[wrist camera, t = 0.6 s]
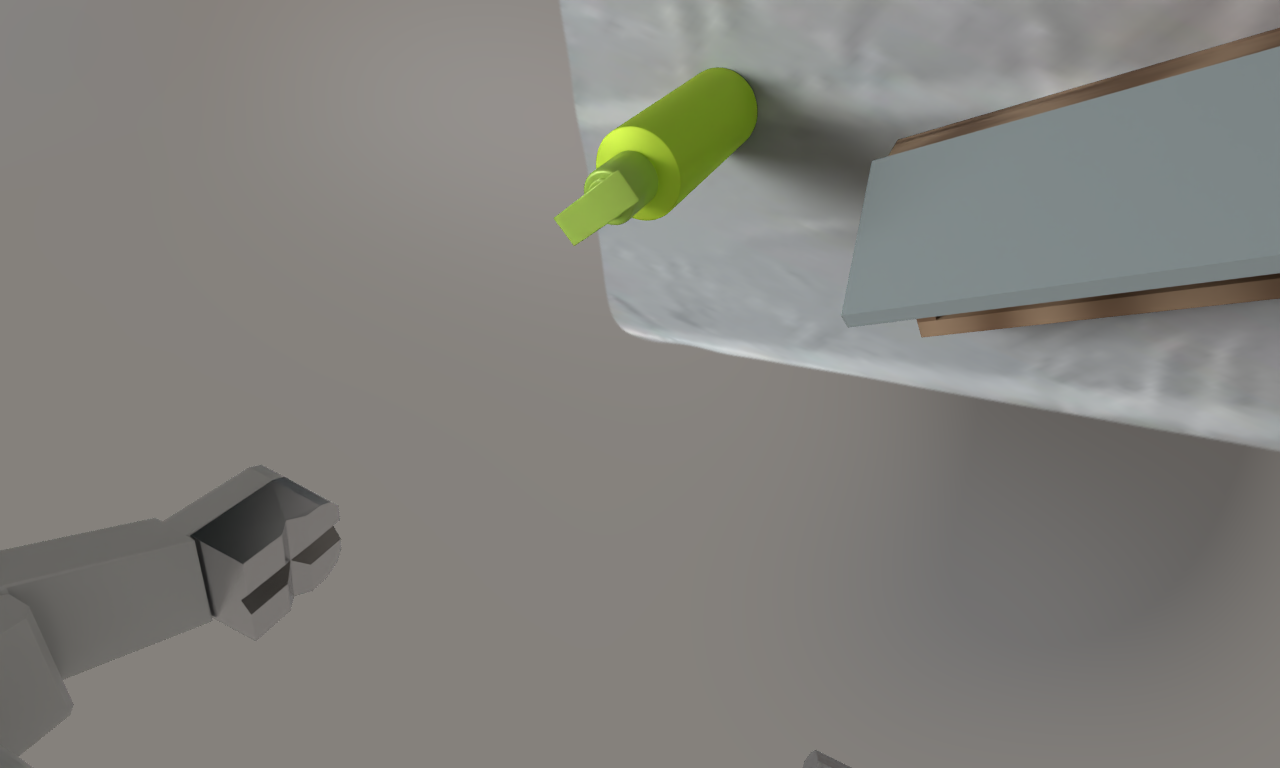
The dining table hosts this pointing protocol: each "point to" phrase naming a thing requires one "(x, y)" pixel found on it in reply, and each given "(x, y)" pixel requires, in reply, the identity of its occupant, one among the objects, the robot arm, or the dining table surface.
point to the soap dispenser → (663, 153)
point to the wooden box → (1113, 303)
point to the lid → (1079, 201)
